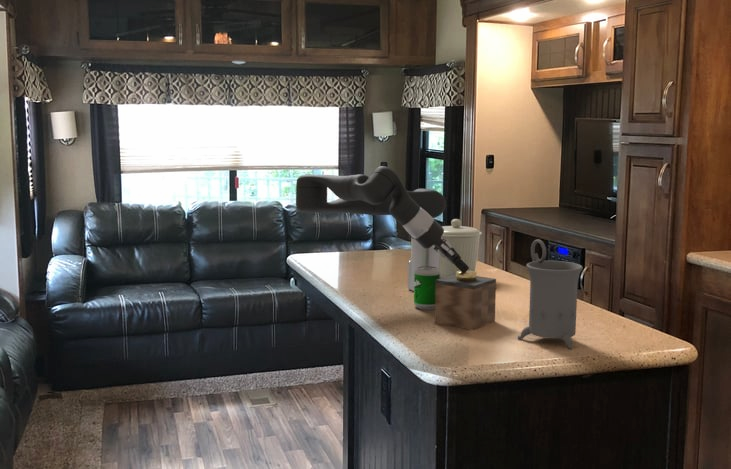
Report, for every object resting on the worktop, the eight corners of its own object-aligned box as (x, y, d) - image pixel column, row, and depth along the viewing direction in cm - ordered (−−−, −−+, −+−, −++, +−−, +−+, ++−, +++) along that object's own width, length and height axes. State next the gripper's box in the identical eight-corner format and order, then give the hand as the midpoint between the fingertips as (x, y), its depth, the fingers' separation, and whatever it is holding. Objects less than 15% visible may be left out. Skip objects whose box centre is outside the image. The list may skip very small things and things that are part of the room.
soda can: (441, 305, 236) (442, 266, 235) (435, 311, 229) (436, 270, 228) (417, 303, 239) (418, 264, 237) (410, 309, 232) (411, 269, 230)
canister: (422, 280, 274) (423, 220, 271) (437, 271, 290) (438, 215, 287) (473, 284, 267) (475, 223, 264) (485, 275, 284) (487, 217, 281)
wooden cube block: (434, 322, 216) (435, 279, 214) (457, 314, 225) (458, 273, 224) (472, 330, 209) (474, 285, 207) (494, 321, 218) (496, 278, 216)
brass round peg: (451, 315, 216) (452, 272, 214) (461, 311, 220) (462, 269, 219) (468, 318, 213) (469, 274, 211) (479, 314, 217) (480, 271, 215)
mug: (596, 346, 194) (601, 246, 190) (546, 352, 188) (550, 250, 185) (552, 328, 211) (556, 236, 207) (504, 333, 206) (507, 239, 202)
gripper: (407, 234, 217) (449, 275, 221) (419, 241, 204) (464, 285, 208) (425, 214, 217) (468, 256, 221) (438, 220, 204) (483, 264, 208)
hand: (466, 270), depth 215 cm, fingers closed
